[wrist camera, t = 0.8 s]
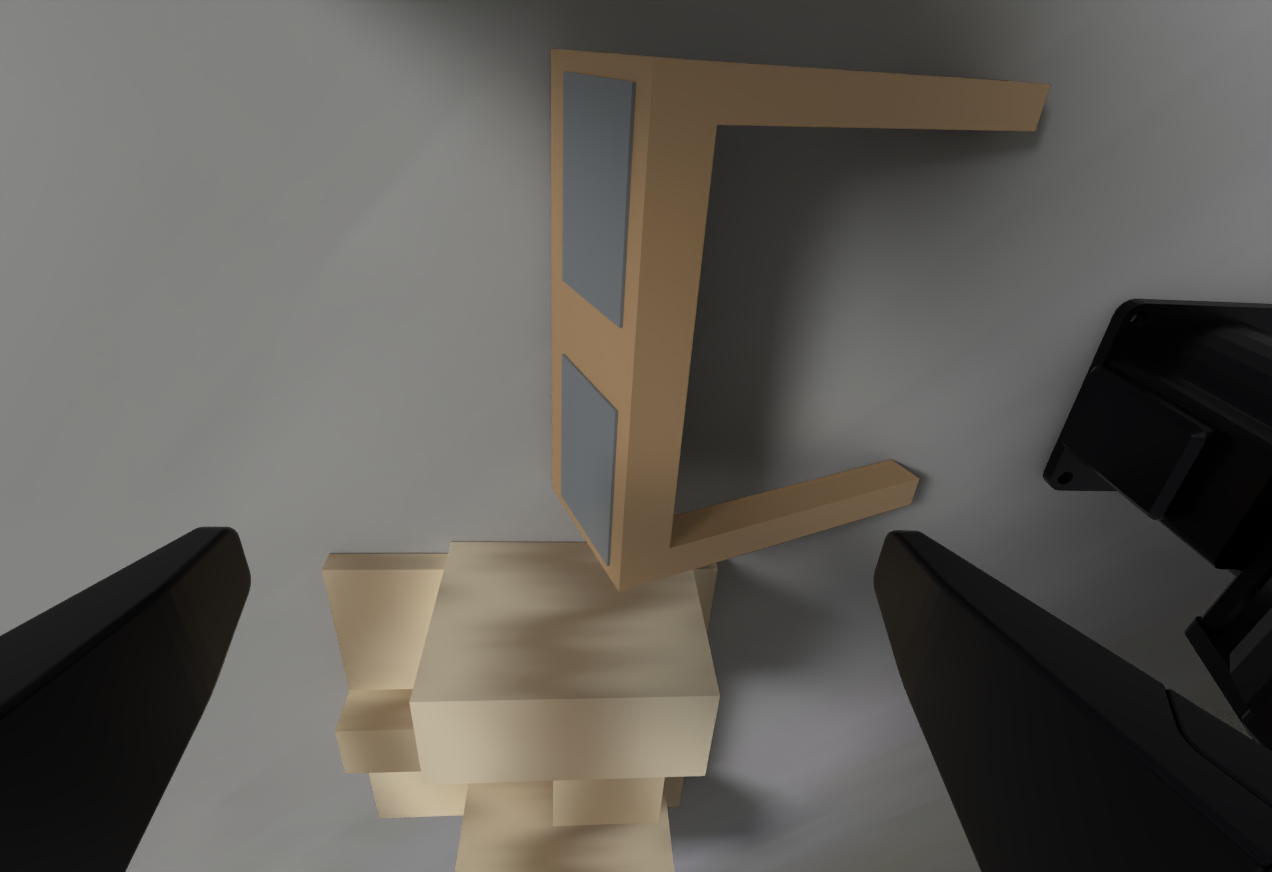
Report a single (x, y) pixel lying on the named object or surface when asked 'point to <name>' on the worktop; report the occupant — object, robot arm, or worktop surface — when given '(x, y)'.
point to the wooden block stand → (526, 699)
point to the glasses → (689, 286)
